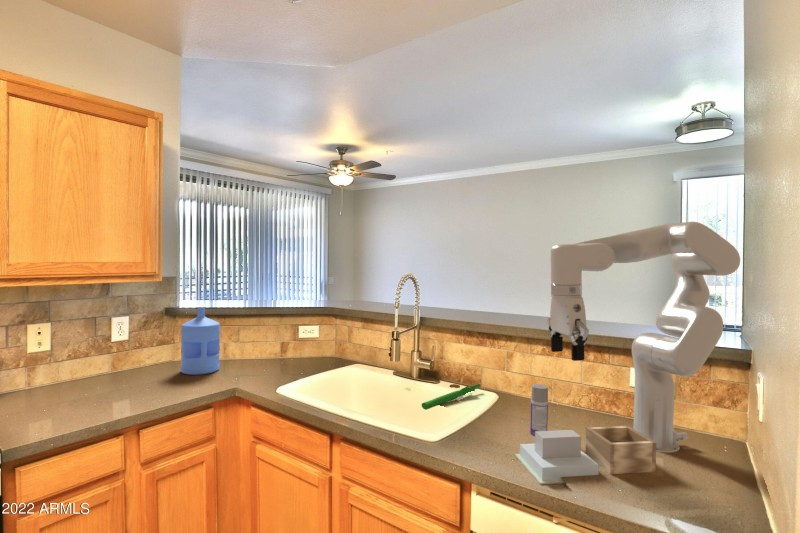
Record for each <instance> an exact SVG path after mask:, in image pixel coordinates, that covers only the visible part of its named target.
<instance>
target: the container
mask: <svg viewBox="0 0 800 533" xmlns="http://www.w3.org/2000/svg"><path fill="white" fill-rule="evenodd" d="M530 397H531V398H530V427H529V428H530V430H529V431H530V435H531V436H532V437H535V431H548V424H549V423H548V422H549V421H548V420H549V418H548V415H549V387H548V385H545V384H541V383H539V384H538V383H536V384H535V383H534V384H532V385H531V396H530Z"/></svg>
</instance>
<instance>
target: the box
mask: <svg viewBox="0 0 800 533" xmlns="http://www.w3.org/2000/svg"><path fill="white" fill-rule="evenodd" d="M612 442H616V443H612ZM584 453H585V454H586V455H587V456H589V457H590V458H591V459H592V460H594V461H595V462H596V463H597V464H599V467H600V468H602V469H603V470H604V471H605V472H607V473H608V474H609V475H616V474H617V475H618V474H634V473H636V474H637V473H639V474H640V473H654V472H655V473H656V471H657V470H656V468H657V452H656V442H654V441H653V440H651V439H649V438H648V437H646V436H644V435H643V434H641V433H639V432H637V431H636V430H634V429H633V427H631V426H629V425H620V426H618V425H617V426H616V425H615V426H597V427H594V426H593V427H591V426H590V427H586V428H585V452H584Z"/></svg>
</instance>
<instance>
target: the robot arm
mask: <svg viewBox="0 0 800 533" xmlns="http://www.w3.org/2000/svg"><path fill="white" fill-rule="evenodd" d="M668 255H672V257H671V263H672V268H673V271H674V274H675V280H676V282H675V287H674V289H673V292H672V293H671V294H670V296H669V297H668V298H667V300H666V302H665V303H664V305H662V307H661V309H660V311H659V313H658V314H657V317H656V320H655V325H656V328H657V330H659V331H660V332H661V333H663V334H661V333H657V332H644V333H641V334H639V335H637V336H635V338H634V339H633V341H632V343H631V356H632V362H633V368H634V394H633V400H634V401H633V425H632V426H633V427H632V429H634V430H636V431H637V432H639V433H641V434H643V435H644V436H646V437H648V438H649V439H651V440H653V441H654V442H656V453H669V454H670V453H676V452H678V451H679V450H680V446H679V444H678V443H677V442H678V441H684V440H689V434H688V433H687V432H683V431H682V432H677V431H676V430H675V429H674V416H675V415H674V412H675V411H674V410H675V382H674V378H673V376H672V375H676V376H679V377H691V376H694V375H695V374H697V373H698V372H699V371H700V370H701V369H702V367H703V366H704V364H705V363H706V361H707V360H708V358H709V357H710V355H711V353H712V352H713V351H714V348H715V347H716V346H717V344H718V342H719V340H720V339H721V337H722V335H723V331H724V320H723V318H722V315H721V314H720V313H719V312H718V311H717V310H716V309H714V308H712V307H708V306H706V305H707V304H708V302H709V301H710V296H711V295H710V288H709V287H708V285H707V282H706V279H705V278H704V276H720V277H721V276H724V277H725V276H729V275H731V274H733V273H735V272H736V271H737V270H738V269H739V267H740V264H741V255H740V253H739V251H738V249H737V248H736V247H735V246H734V244H731V243H730V242H729V241H728V240H726V239H725V238H724V237H722V236H721V235H720V234H719V233H717V232H716V231H715V230H713V229H711V228H710V227H708V226H707V225H705V224H704V223H701V222H698V221H687V222H686V221H685V222H673V223H666V224H660V225H655V226H651V227H647V228H642V229H639V230H633V231H630V232H623V233H618V234H615V235H610V236H605V237H601V238H596V239H595V238H594V239H589V240H585V241H580V242H575V243H572V244H570V243H568V244H567V243H566V244H565V243H563V244H555V245H553V246H551V247H550V294H551V295H550V296H551V301H550V310H549V311H550V314H549V315H550V317H549V318H548V319H547V324H548V331H549V337H550V351H551V352H552V353H558V352H563V350H564V348H563V346H564V344H563V343H564V342H563V341H564V339H563V338H564V337H563V336H562V335H564V336H567V337H570V340H571V342H572V344H571V345H570V346H571V361H584V360H585V345H586V343H587V340H588V336H589V333H590V330H589V328H588V327H587V315H586V307H585V302H584V297H583V291H582V290H583V285H582V284H583V283H582V282H583V280H582V276H583V274H582V271H585V272H603V271H605V270H608V269H610V267H612V266H613V265H614V264H629V263H639V262H642V261H648V260H650V259H651V260H652V259H655V258H658V257H663V256H668ZM576 337H577V338H576Z"/></svg>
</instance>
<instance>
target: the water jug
mask: <svg viewBox="0 0 800 533" xmlns="http://www.w3.org/2000/svg"><path fill="white" fill-rule="evenodd" d="M205 310H206V307H197V311H196V312H197V313H196V314H197V316H196V317H195V318H193V319H191V320H189V321H186V322H184V323H183V324H181V328H180V334H181V337H180V338H181V340H180V341H181V345H180V355H181V358H180V359H181V360H180V364H181V365H180V372H181V373H182V374H184V375H189V376H199V375H205V374H211V373H214V372H217V371H218V370H219V369H220V367H221V366H220V365H221V363H220V351H221V344H220V341H221V340H220V337H221V336H220V335H221V326H220V322H218V321H216V320H213V319H211V318H208V317H207V316H206V311H205Z"/></svg>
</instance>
